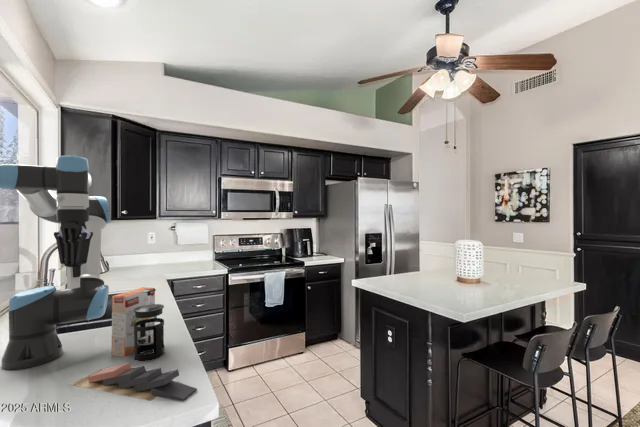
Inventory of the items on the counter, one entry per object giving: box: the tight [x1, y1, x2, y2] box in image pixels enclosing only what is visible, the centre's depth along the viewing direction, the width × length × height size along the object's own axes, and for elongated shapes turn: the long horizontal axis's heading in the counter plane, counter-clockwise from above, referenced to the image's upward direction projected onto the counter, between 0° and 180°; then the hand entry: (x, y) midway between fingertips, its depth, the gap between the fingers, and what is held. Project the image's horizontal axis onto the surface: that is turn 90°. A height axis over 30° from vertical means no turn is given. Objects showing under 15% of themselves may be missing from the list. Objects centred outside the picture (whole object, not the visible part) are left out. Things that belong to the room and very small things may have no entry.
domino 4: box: [151, 379, 198, 402], centre depth 83 cm, size 2×5×10 cm
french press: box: [133, 288, 165, 363], centre depth 105 cm, size 12×9×23 cm
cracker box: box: [111, 286, 156, 357], centre depth 112 cm, size 14×6×21 cm, turn 168°
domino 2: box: [118, 367, 163, 389], centre depth 86 cm, size 2×5×10 cm
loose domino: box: [88, 362, 132, 383], centre depth 89 cm, size 2×5×10 cm
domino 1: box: [102, 365, 147, 386], centre depth 88 cm, size 2×5×10 cm
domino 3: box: [135, 369, 180, 392], centre depth 84 cm, size 2×5×10 cm
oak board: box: [70, 368, 158, 402], centre depth 88 cm, size 28×9×1 cm, turn 73°
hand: (73, 288), depth 93 cm, fingers closed
